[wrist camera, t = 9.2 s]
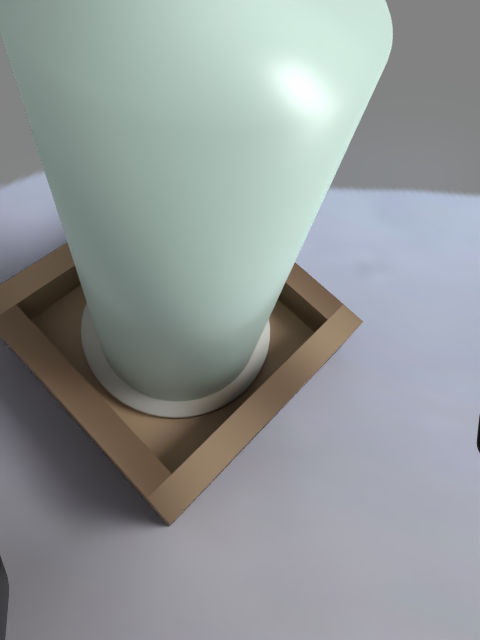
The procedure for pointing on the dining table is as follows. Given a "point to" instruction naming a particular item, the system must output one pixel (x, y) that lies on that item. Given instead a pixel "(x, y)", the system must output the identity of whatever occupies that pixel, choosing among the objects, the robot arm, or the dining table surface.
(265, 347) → the tray
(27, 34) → the pale green rounded part
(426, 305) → the dining table surface
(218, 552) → the dining table surface
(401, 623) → the dining table surface
